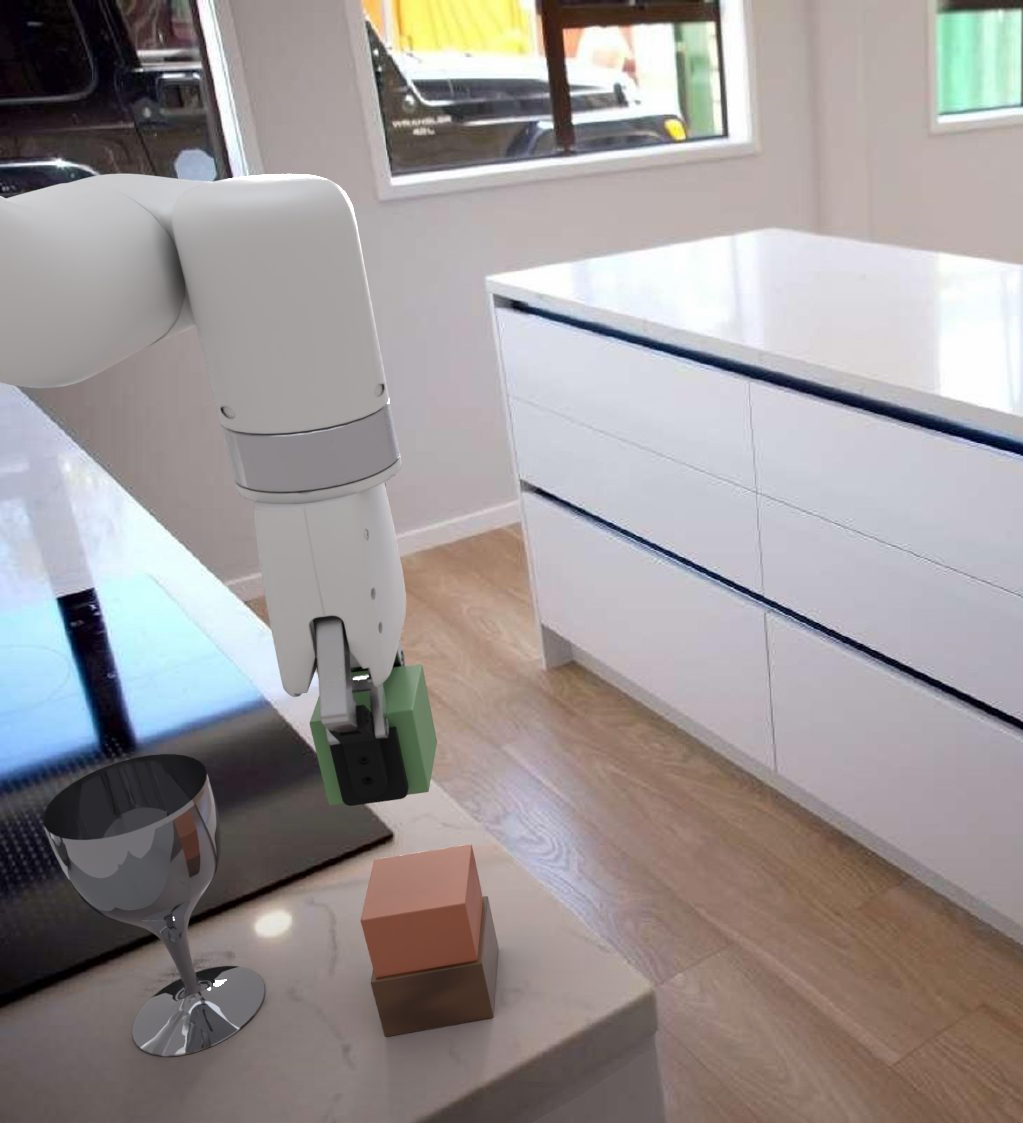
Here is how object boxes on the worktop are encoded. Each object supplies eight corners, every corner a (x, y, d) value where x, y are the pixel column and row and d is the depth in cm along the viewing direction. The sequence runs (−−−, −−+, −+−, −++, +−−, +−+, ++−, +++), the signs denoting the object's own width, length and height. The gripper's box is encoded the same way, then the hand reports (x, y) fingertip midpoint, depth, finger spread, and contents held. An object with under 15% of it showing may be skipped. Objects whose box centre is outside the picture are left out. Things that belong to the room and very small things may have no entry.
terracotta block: (375, 978, 70) (360, 920, 68) (387, 914, 75) (373, 858, 73) (477, 960, 71) (465, 903, 69) (483, 898, 76) (471, 843, 74)
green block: (328, 806, 66) (308, 723, 64) (343, 754, 70) (325, 675, 68) (428, 792, 66) (412, 709, 64) (437, 742, 71) (422, 663, 69)
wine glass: (301, 988, 75) (238, 775, 69) (179, 1081, 69) (98, 857, 63) (217, 946, 79) (151, 740, 73) (94, 1031, 73) (10, 814, 67)
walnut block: (384, 1037, 71) (369, 982, 70) (397, 964, 77) (383, 912, 75) (493, 1018, 72) (481, 963, 71) (498, 947, 78) (487, 894, 76)
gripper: (268, 403, 68) (336, 699, 75) (182, 521, 52) (278, 878, 60) (414, 390, 69) (467, 682, 76) (372, 503, 54) (442, 854, 61)
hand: (383, 765), depth 68 cm, fingers closed on green block, 5 cm apart
